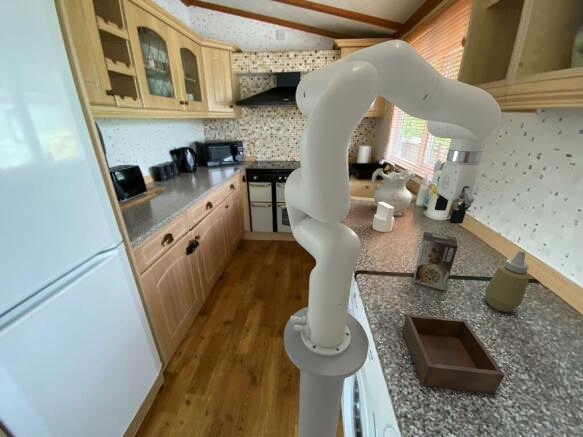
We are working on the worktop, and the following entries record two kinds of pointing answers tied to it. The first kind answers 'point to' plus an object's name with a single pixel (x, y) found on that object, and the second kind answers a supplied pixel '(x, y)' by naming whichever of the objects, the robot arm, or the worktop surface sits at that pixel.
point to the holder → (450, 355)
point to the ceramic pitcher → (393, 189)
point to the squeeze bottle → (508, 284)
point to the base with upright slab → (383, 217)
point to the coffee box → (435, 260)
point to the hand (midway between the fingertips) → (447, 216)
